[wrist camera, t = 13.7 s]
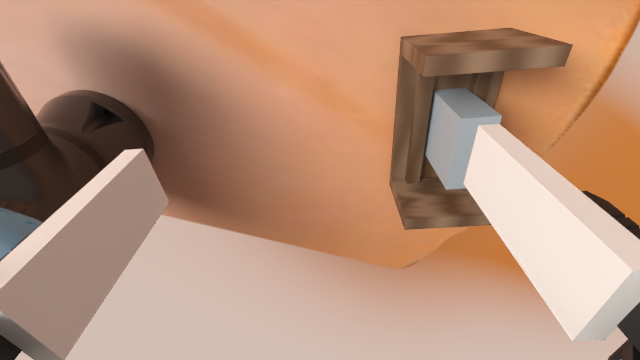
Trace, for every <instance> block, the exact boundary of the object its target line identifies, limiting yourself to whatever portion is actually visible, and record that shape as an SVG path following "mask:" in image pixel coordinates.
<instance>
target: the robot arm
mask: <svg viewBox="0 0 640 360" xmlns="http://www.w3.org/2000/svg"><path fill="white" fill-rule="evenodd" d="M152 158H153V143H152V140H151V137H150V134H149V132H148V130H147V129H146V127H145V126H144V124H143V123H142V121H141V120H140V119H139V118H138V117H137V116H136V115H135V114H134V113H133V112H132V111H131V110H130V109H128V108H127V107H126V106H124V105H123V104H121V103H120V102H118V101H116V100H115V99H113V98H111V97H108V96H106V95H103V94H100V93H97V92H93V91H86V90H76V91H70V92H67V93H64V94H62V95H60V96H58V97H55V98H53V99H52V100H50V101H49V102H47V103H46V104H45V105H44V106H43V108H42V109H41V111H40V112H39V113H38V115H37V116H36V117H35V116H34V114H33V112H32V111H31V109H30V108H29V106H28V104H27V103H26V101H25V100H24V98H23V96H22V95H21V93H20V92H19V90H18V88H17V87H16V85H15V84H14V82H13V80H12V79H11V77H10V76H9V74H8V72H7V71H6V69H5V68H4V66H3V64H2V63H1V61H0V360H15V358H16V357H17V356H18V354H19V353H20V352H21V351H23V352H24V353H25V354H27V355H28V356H30V357H31V358H32V359H34V360H65V358H66V357H67V355H68V354H69V352H70V351H71V349H72V348H73V346H74V344H75V343H76V342H77V340H78V338H79V337H80V336H81V334H82V333H83V331H84V330H85V328H86V327H87V325H88V324H89V322H90V321H91V319H92V317H93V316H94V314H95V313H96V311H97V310H98V308H99V307H100V305H101V304H102V302H103V301H104V299H105V298H106V296H107V295H108V293H109V292H110V290H111V289H112V287H113V286H114V284H115V283H116V281H117V280H118V278H119V277H120V275H121V274H122V272H123V271H124V269H125V268H126V266H127V265H128V263H129V262H130V260H131V259H132V257H133V256H134V254H135V253H136V251H137V250H138V248H139V247H140V245H141V243H142V242H143V241H144V239H145V238H146V236H147V235H148V233H149V232H150V230H151V229H152V227H153V225H154V224H155V223H156V221H157V219H158V218H159V217H160V215H161V214H162V212H163V211H164V209H165V208H166V206H167V205H168V203H169V200H168V198H167V196H166V194H165V192H164V190H163V188H162V186H161V184H160V182H159V180H158V178H157V176H156V174H155V171H154V169H153V167H152V165H151V161H152ZM464 185H465V187H466V188H467V190H468V191H469V193H470V194H471V196H472V197H473V198H474V200H475V201H476V203H477V204H478V206H479V207H480V209H481V210H482V211H483V213H484V214H485V216H486V217H487V219H488V220H489V222H490V223H491V224H492V226H493V227H494V229H495V230H496V232H497V233H498V234H499V236H500V237H501V239H502V240H503V242H504V243H505V245H506V246H507V248H508V249H509V250H510V252H511V253H512V255H513V256H514V258H515V259H516V261H517V262H518V263H519V265H520V266H521V268H522V269H523V271H524V272H525V274H526V275H527V276H528V278H529V279H530V281H531V282H532V283H533V285H534V287H535V288H536V289H537V291H538V292H539V294H540V295H541V297H542V298H543V300H544V301H545V302H546V304H547V305H548V307H549V308H550V310H551V311H552V312H553V314H554V315H555V317H556V318H557V320H558V321H559V323H560V324H561V326H562V327H563V329H564V330H565V331H566V333H567V334H568V336H569V337H570V339H571V340H572V341H590V340H605V339H606V338H607V337H608V336H609V335H610V334H611V333H612V332H613V331H614V330H615V328H617V327H618V328H619V329H620V330H621V331H622V332H623V333H624V335H625V336H626V337H627V338H628V340H627V341H626V342H625V343H624V344H623V345H622V346H621V347H620V348H618V349H617V350H616V351H615V352H614V353H613V354H612V355H611V356H610V357H609V359H608V360H621V359H622V360H640V229H639V225H637V224H636V223H635V222H633V221H632V220H631V219H630V218H628V217H627V218H626V217H625V214H623V213H622V212H620V211H619V210H618V209H617V208H616V207H614V206H613V205H612V204H610V203H609V202H608V201H606V200H604V199H602V198H600V197H598V196H596V195H594V194H592V193H589V192H588V191H580V190H579V189H578V188H576V187H575V186H574V185H573V184H571V183H570V182H569V181H568V180H567V179H565V178H564V177H563V176H562V175H560V174H559V173H558V172H557V171H556V170H554V169H553V168H552V167H551V166H549V165H548V164H547V163H546V162H545V161H544V160H542V159H541V158H540V157H539V156H537V155H536V154H535V153H534V152H533V151H531V150H530V149H529V148H528V147H527V146H525V145H524V144H523V143H522V142H521V141H519V140H518V139H517V138H516V137H514V136H513V135H512V134H511V133H510V132H508V131H507V130H506V129H505V128H504V127H502V126H501V125H500V124H490V125H479V126H478V129H477V133H476V137H475V141H474V145H473V149H472V153H471V156H470V160H469V164H468V168H467V172H466V176H465V180H464Z"/></svg>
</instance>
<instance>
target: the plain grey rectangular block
mask: <svg viewBox="0 0 640 360" xmlns="http://www.w3.org/2000/svg"><path fill="white" fill-rule="evenodd" d="M501 119H502V115H501V114H499V113H498V112H497V111H495V110H494V109H493V108H491V107H490V106H489V105H488V104H486V103H485V102H484V101H482V100H481V99H480V98H478V97H477V96H476V95H474V94H473V93H472V92H471V91H469V90H468V89H467V88H455V89H441V90H433V95H432V102H431V108H430V115H429V122H428V128H427V135H426V142H425V148H424V153H425V155H426V157H427V158H428V160H429V162H430V163H431V165H432V167H433V168H434V170H435V172H436V174H437V175H438V177H439V179H440V180H441V182H442V184H443V185H444V187H445V189H446V190H448V189H465V188H466V187H465V185H464V180H465V176H466V172H467V168H468V164H469V160H470V156H471V153H472V149H473V145H474V141H475V137H476V133H477V129H478V126H479V125H490V124H500V122H501Z"/></svg>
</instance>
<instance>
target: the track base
mask: <svg viewBox="0 0 640 360" xmlns="http://www.w3.org/2000/svg"><path fill="white" fill-rule="evenodd" d="M572 46H573V45H572V44H568V43H565V42H561V41H557V40H554V39H550V38H546V37H543V36H539V35H535V34H532V33H528V32H524V31H521V30H517V29H513V28H503V29H491V30H478V31H466V32H454V33H442V34H430V35H418V36H406V37H401V43H400V56H399V69H398V82H397V95H396V108H395V121H394V134H393V147H392V160H391V173H390V187H391V190H392V193H393V196H394V199H395V202H396V205H397V208H398V211H399V214H400V217H401V220H402V223H403V226H404V229H405V230H407V229H425V228H444V227H462V226H479V225H492V224H491V223H490V222H489V220H488V219H487V217H486V216H485V214H484V213H483V211H482V210H481V209H480V207H479V206H478V204H477V203H476V201H475V200H474V198H473V197H472V196H471V194H470V193H469V191H468V190H467V188H465V189H448V190H446V189H445V187H444V185H443V184H442V182H441V180H440V179H439V177H438V175H437V174H436V172H435V170H434V168H433V167H432V165H431V163H430V162H429V160H428V158H427V157H426V155H425V153H424V148H425V142H426V135H427V128H428V122H429V115H430V108H431V102H432V95H433V90H441V89H455V88H467V89H468V90H469V91H471V92H472V93H473V94H474V95H476V96H477V97H478V98H480V99H481V100H482V101H484V102H485V103H486V104H488V105H489V106H490V107H491V108H493V109H494V105H495V102H496V98H497V95H498V91H499V87H500V84H501V80H502V77H503V73H504V71H509V70H522V69H535V68H547V67H560V66H565V64H566V61H567V58H568V56H569V53H570V51H571V48H572Z"/></svg>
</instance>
